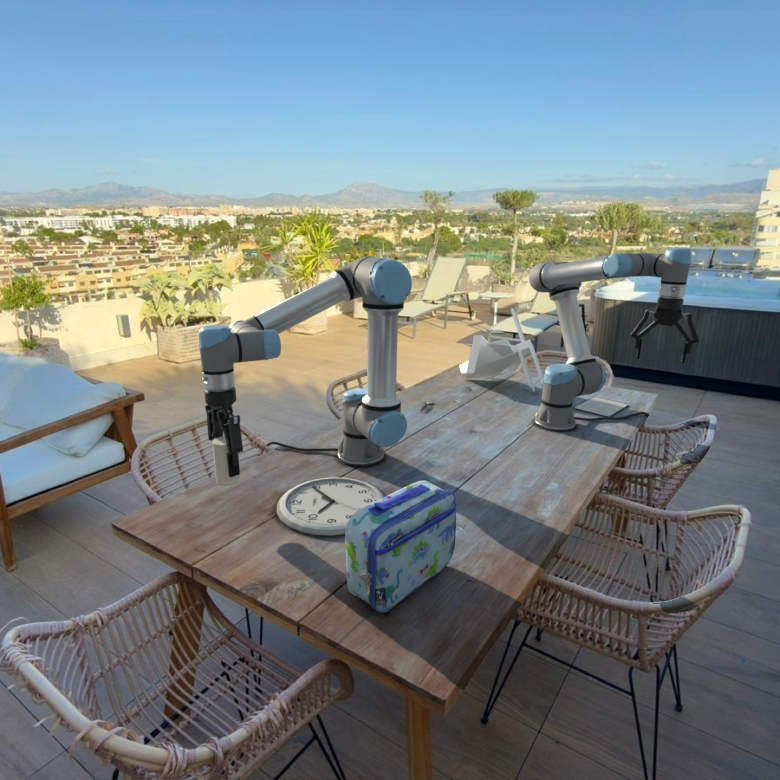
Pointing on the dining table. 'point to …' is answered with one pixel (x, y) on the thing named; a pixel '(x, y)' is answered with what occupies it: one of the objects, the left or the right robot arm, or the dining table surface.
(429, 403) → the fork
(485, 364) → the white plastic object
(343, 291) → the left robot arm
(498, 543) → the dining table surface
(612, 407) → the invitation card
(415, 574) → the lunch box
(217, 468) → the canister
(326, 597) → the dining table surface
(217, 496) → the dining table surface
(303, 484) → the wall clock
